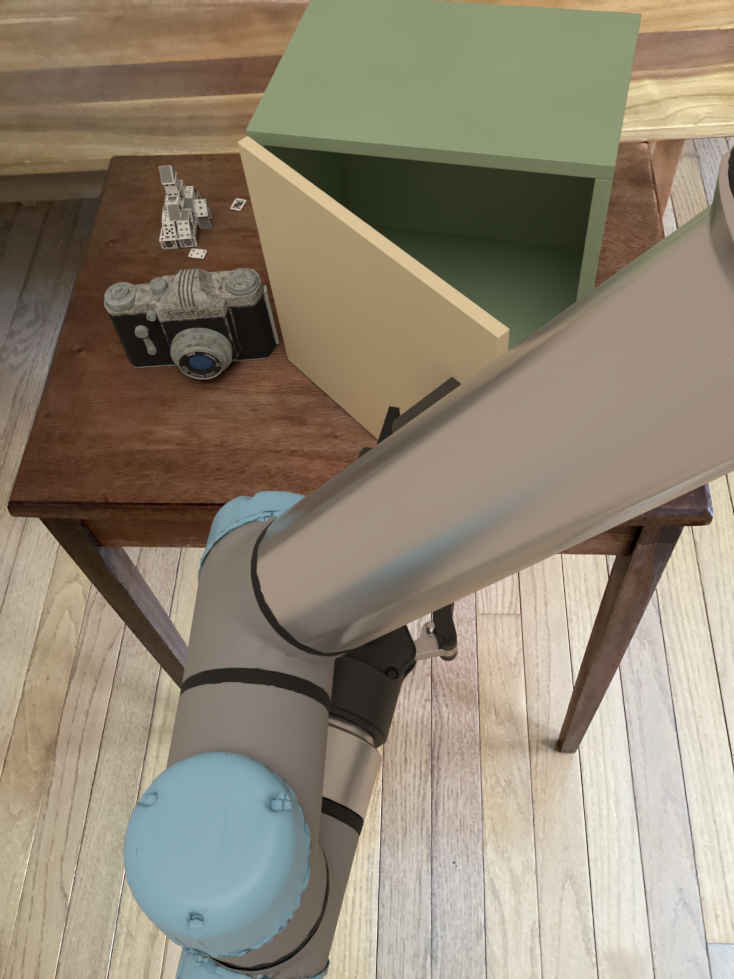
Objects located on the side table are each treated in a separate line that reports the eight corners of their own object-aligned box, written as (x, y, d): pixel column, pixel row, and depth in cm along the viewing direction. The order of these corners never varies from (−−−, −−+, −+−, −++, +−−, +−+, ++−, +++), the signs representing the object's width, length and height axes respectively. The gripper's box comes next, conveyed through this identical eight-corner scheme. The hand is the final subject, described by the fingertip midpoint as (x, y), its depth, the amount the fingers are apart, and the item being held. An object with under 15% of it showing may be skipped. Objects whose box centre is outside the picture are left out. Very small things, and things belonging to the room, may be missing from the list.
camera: (121, 394, 86) (85, 321, 78) (130, 340, 90) (96, 264, 82) (278, 383, 86) (258, 308, 77) (280, 329, 89) (261, 251, 81)
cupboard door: (432, 582, 73) (423, 393, 53) (237, 394, 85) (168, 182, 65) (495, 529, 75) (510, 328, 55) (296, 353, 87) (247, 135, 67)
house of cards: (242, 256, 95) (226, 196, 89) (159, 262, 96) (137, 203, 89) (247, 197, 100) (232, 136, 94) (168, 203, 101) (148, 143, 94)
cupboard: (575, 392, 82) (615, 165, 62) (294, 351, 88) (245, 130, 67) (600, 251, 91) (641, 13, 71) (343, 222, 97) (313, -8, 76)
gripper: (215, 721, 60) (321, 433, 72) (454, 782, 57) (524, 470, 68) (186, 679, 54) (307, 371, 65) (453, 745, 50) (530, 408, 62)
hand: (418, 422), depth 67 cm, fingers open, 3 cm apart
